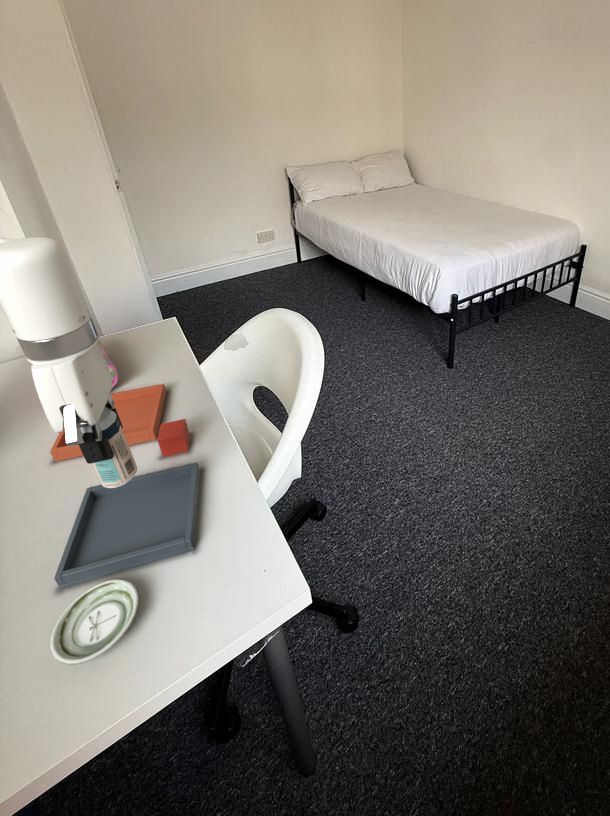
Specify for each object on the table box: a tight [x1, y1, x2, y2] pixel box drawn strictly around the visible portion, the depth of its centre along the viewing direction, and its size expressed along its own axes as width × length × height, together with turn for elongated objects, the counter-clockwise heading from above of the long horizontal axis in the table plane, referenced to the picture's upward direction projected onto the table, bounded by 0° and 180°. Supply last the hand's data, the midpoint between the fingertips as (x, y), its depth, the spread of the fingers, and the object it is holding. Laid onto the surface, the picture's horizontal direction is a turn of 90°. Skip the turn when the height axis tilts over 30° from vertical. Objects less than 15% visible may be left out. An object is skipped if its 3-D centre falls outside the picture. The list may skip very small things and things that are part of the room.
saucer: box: [49, 578, 140, 666], centre depth 54 cm, size 10×10×2 cm
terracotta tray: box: [49, 383, 167, 462], centre depth 88 cm, size 18×16×3 cm
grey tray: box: [53, 461, 201, 590], centre depth 67 cm, size 18×16×3 cm
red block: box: [156, 418, 191, 458], centre depth 81 cm, size 4×4×4 cm
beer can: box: [80, 407, 138, 488], centre depth 60 cm, size 5×5×12 cm
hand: (106, 444), depth 60 cm, fingers closed on beer can, 4 cm apart
